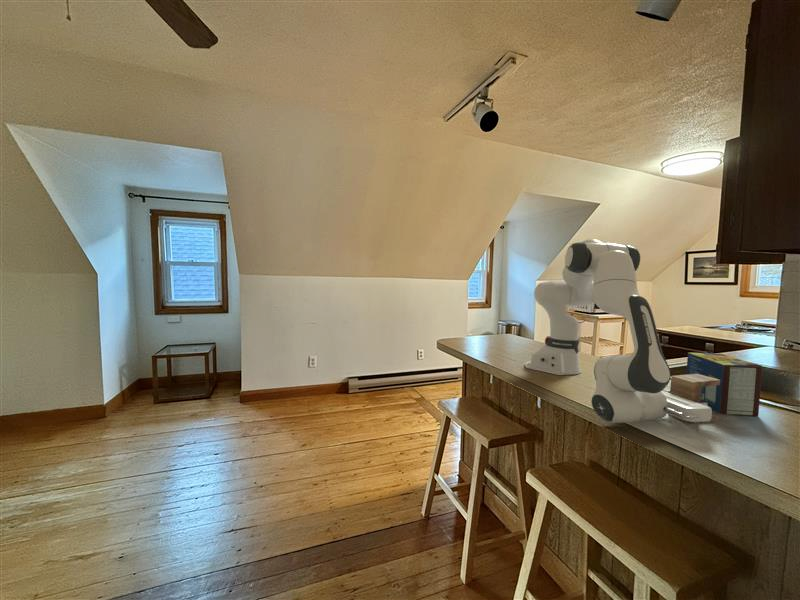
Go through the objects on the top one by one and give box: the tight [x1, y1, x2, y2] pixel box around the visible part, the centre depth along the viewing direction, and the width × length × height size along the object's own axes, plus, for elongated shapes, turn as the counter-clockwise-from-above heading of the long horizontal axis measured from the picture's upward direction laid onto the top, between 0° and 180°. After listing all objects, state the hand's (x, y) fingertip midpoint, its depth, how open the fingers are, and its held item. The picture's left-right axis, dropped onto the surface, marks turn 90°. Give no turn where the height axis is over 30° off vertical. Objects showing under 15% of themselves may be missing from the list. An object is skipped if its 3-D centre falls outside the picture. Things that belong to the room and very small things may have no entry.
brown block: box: [667, 374, 720, 425], centre depth 96 cm, size 10×6×12 cm, turn 103°
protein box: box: [685, 352, 763, 417], centre depth 105 cm, size 10×15×16 cm
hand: (686, 398), depth 95 cm, fingers open, 8 cm apart
